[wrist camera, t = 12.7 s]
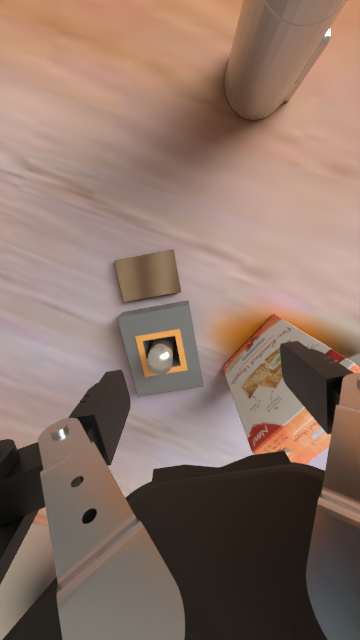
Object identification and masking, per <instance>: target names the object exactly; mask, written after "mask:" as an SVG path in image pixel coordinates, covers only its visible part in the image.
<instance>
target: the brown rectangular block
mask: <svg viewBox="0 0 360 640" xmlns="http://www.w3.org/2000/svg"><path fill="white" fill-rule="evenodd" d="M114 264H115V268H116V272H117V276H118V280H119V284H120V288H121V292H122V296H123V300H124V302H127V301H132V300H138V299H143V298H149V297H154V296H160V295H165V294H171V293H176V292H181V288H180V283H179V277H178V272H177V266H176V261H175V255H174V250H168V251H163V252H158V253H152V254H147V255H142V256H137V257H131V258H126V259H121V260H116V261H114Z"/></svg>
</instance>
